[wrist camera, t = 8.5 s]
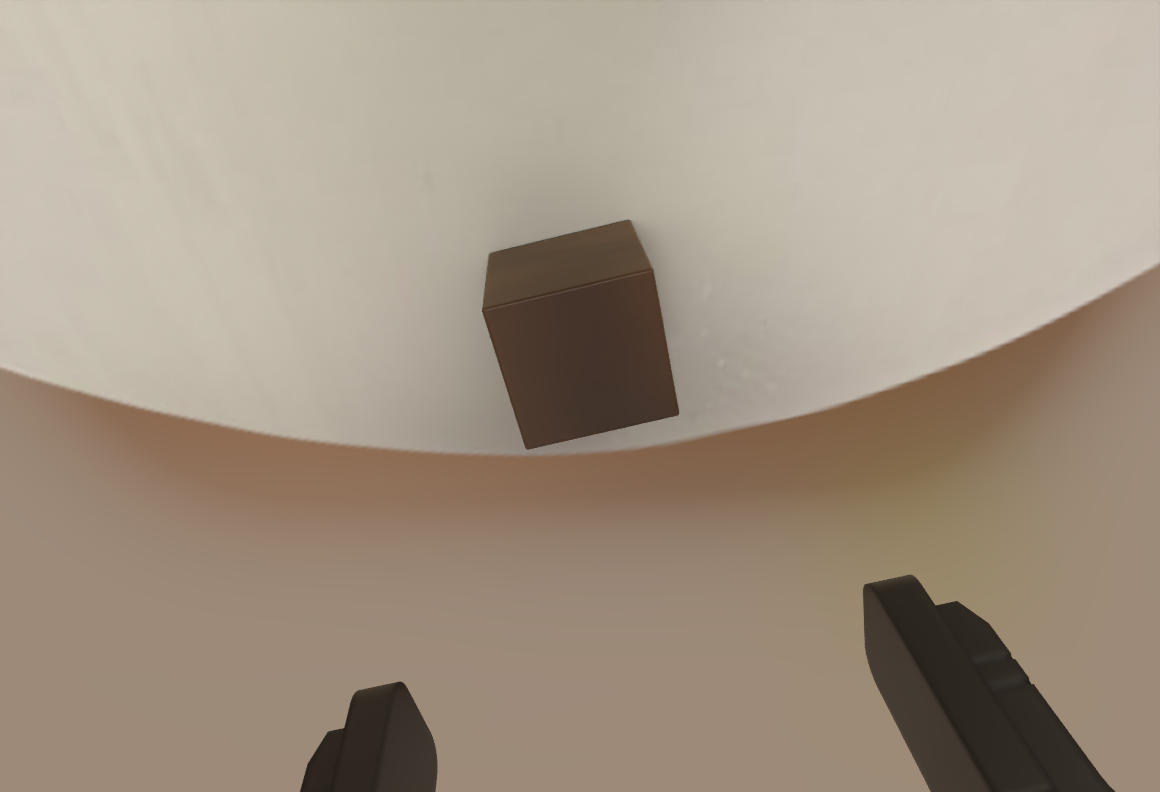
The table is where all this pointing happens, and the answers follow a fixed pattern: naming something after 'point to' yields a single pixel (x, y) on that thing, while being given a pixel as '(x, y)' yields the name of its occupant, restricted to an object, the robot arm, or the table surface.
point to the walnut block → (579, 334)
